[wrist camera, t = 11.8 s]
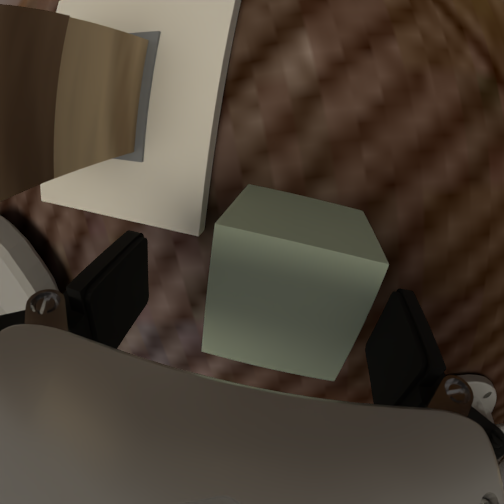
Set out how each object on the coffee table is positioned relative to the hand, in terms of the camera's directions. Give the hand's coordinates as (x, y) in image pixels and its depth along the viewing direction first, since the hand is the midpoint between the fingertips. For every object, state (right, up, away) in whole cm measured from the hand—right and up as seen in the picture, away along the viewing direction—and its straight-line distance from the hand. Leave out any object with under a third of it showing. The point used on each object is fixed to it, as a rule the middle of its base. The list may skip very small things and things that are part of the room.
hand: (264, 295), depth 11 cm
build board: (-8, +10, +3) cm, 13 cm away
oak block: (-9, +10, +2) cm, 14 cm away
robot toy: (-22, -1, +12) cm, 25 cm away
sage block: (+2, +2, +6) cm, 6 cm away
